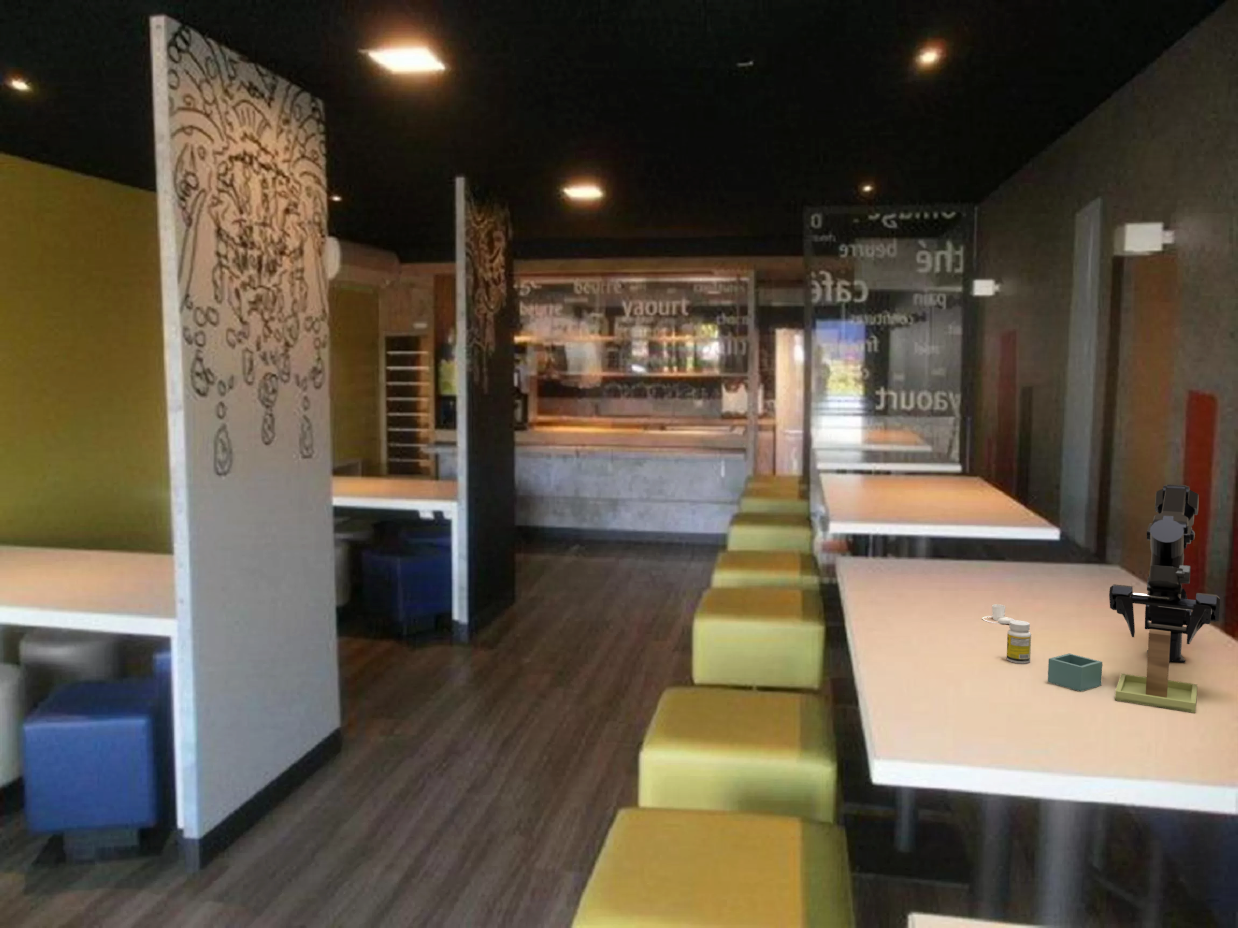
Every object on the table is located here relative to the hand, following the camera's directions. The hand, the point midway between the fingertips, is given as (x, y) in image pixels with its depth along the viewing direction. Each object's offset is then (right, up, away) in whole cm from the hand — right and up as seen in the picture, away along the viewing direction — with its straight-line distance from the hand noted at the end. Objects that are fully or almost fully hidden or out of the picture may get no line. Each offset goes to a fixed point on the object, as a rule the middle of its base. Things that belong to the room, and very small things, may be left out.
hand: (1160, 639), depth 185 cm
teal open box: (-13, -10, +7) cm, 18 cm away
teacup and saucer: (-11, -6, +56) cm, 58 cm away
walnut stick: (-1, -10, 0) cm, 10 cm away
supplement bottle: (-18, -9, +23) cm, 30 cm away
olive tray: (-1, -11, 0) cm, 11 cm away
